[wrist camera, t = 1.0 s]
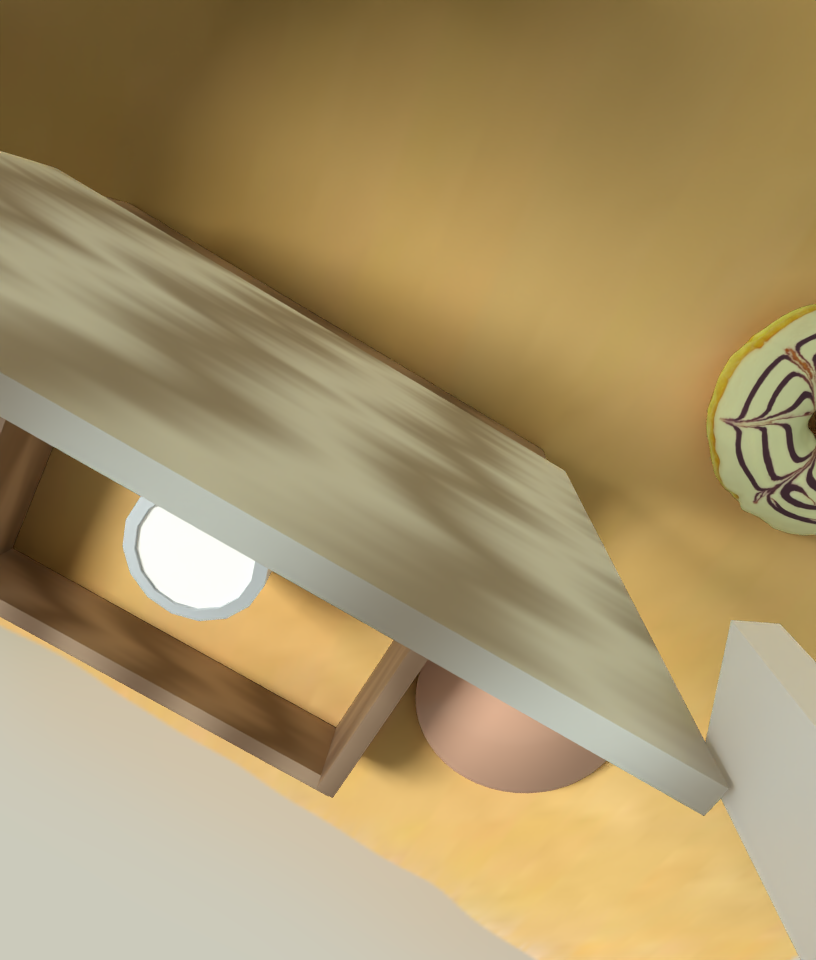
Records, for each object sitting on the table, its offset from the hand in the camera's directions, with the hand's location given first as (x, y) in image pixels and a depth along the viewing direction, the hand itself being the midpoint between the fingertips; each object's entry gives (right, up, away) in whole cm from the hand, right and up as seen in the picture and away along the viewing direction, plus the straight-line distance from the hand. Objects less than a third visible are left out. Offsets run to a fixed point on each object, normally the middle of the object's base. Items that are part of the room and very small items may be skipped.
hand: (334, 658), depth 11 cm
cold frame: (-8, +2, +24) cm, 25 cm away
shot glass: (-8, +2, +24) cm, 25 cm away
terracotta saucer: (+8, -9, +26) cm, 28 cm away
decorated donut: (+21, +6, +20) cm, 30 cm away
